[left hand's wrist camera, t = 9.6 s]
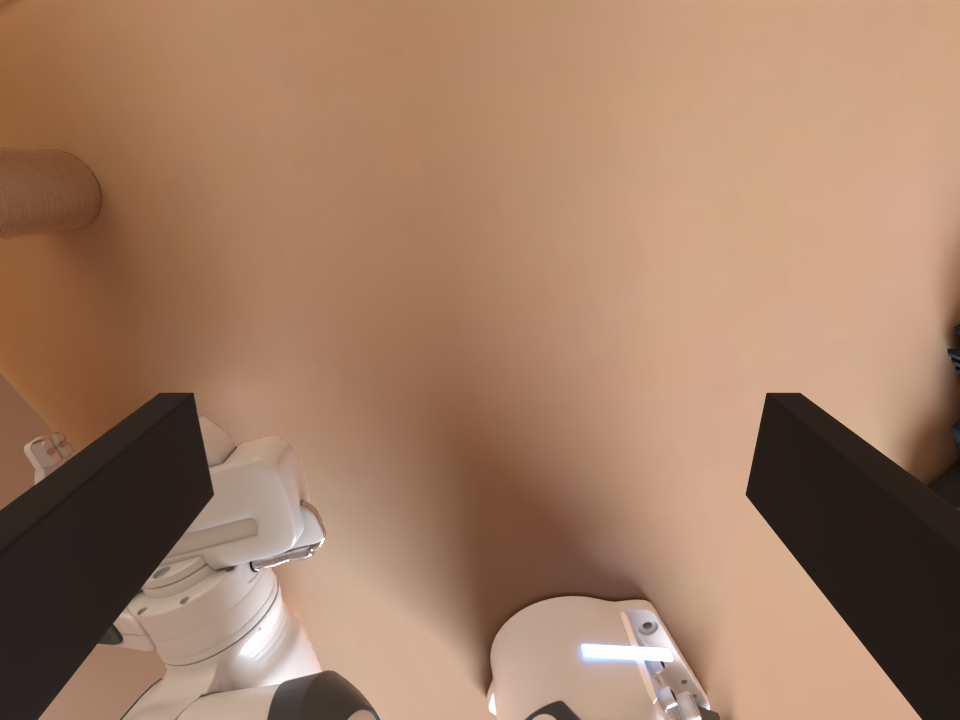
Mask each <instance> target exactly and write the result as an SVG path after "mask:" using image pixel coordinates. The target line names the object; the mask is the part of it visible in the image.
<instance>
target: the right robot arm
mask: <svg viewBox="0 0 960 720" xmlns="http://www.w3.org/2000/svg"><path fill="white" fill-rule="evenodd" d="M197 413H198V418H199V423H200V428H201V433H202V437H203V442H204V447H205V452H206V457H207V462H208V467H209V471H210V476H211V481H212V486H213V491H214V496H213V497H212V499H211V500H210V501H209V502H208V504H207V505H206V506H205V507H204V509H203V510H202V511H201V513H200V514H199V515H198V516H197V518H196V519H195V520H194V521H193V523H192V524H191V525H190V527H189V528H188V529H187V530H186V532H185V533H184V534H183V535H182V537H181V538H180V539H179V541H178V542H177V543H176V544H175V546H174V547H173V548H172V549H171V551H170V552H169V553H168V555H167V556H166V557H165V558H164V560H163V561H162V562H161V563H160V565H159V566H158V567H157V569H156V570H155V571H154V572H153V574H152V575H151V576H150V577H149V579H148V580H147V581H146V583H145V584H144V585H143V586H142V588H141V589H140V590H139V591H138V593H137V594H136V595H135V597H134V598H133V599H132V600H131V602H130V603H129V604H128V605H127V607H126V608H125V609H124V611H123V612H122V613H121V614H120V616H119V617H118V618H117V619H116V621H115V622H114V623H113V625H112V626H111V627H110V628H109V630H108V631H107V632H106V633H105V635H104V636H103V637H102V639H101V640H100V641H99V642H98V644H97V645H100V646H117V647H125V648H131V649H136V650H140V651H145V652H153V651H156V653H157V654H158V656H159V657H160V659H161V660H162V661H163V663H164V664H165V666H166V673H165V675H164V677H163V678H161V679H159V680H158V681H157V682H155V683H154V684H153V685H152V686H150V687H149V688H148V689H147V690H146V691H145V692H144V693H143V694H142V695H141V696H140V698H139V699H138V700H137V701H136V702H135V703H134V704H133V705H132V706H131V708H130V709H129V710H128V711H127V712H126V713H125V715H124V716H123V717H122V718H121V719H120V720H380V719H379V717H378V715H377V713H376V712H375V710H374V708H373V707H372V706H371V704H370V703H369V701H368V700H367V699H366V698H365V697H364V696H363V694H362V693H361V692H360V691H359V690H358V689H357V688H356V687H355V686H353V685H352V684H351V683H350V682H349V681H348V680H346V679H345V678H344V677H342V676H341V675H339V674H338V673H336V672H334V671H324V672H322V670H321V667H320V664H319V661H318V659H317V656H316V654H315V651H314V649H313V647H312V644H311V642H310V640H309V638H308V636H307V634H306V632H305V630H304V628H303V626H302V624H301V623H300V621H299V619H298V617H297V616H296V615H295V614H294V613H293V612H292V611H291V610H290V609H288V608H287V607H286V606H285V604H284V602H283V600H282V596H281V588H280V585H279V582H278V579H277V578H276V576H275V574H274V572H273V570H272V568H271V567H274V566H278V565H280V564H283V563H286V562H289V561H293V560H295V561H297V560H303V559H306V558H308V557H310V556H312V555H313V554H314V552H315V550H316V549H318V548H319V547H320V546H321V545H322V544H323V543H324V541H325V537H326V529H325V525H324V523H323V521H322V519H321V517H320V515H319V513H318V511H317V509H316V508H315V507H314V506H313V505H312V504H310V499H309V494H308V490H307V486H306V483H305V479H304V476H303V473H302V470H301V467H300V464H299V461H298V458H297V456H296V453H295V451H294V449H293V447H292V445H291V444H290V443H289V442H287V441H285V440H284V439H282V438H280V437H278V436H277V435H271V436H267V437H264V438H260V439H256V440H253V441H249V442H245V443H242V444H238V445H234V443H233V441H232V439H231V437H230V435H229V433H228V432H227V431H225V430H224V429H222V428H221V427H219V426H218V425H216V424H215V423H213V422H212V421H210V420H209V419H207V418H206V417H204V416H201V415H200V413H199V411H198V410H197ZM73 452H75V451H74V449H73V448H72V446H71V445H70V443H68V442H67V441H66V437H65V435H64V434H63V433H61V432H55V433H51V434H48V435H44V436H40V437H37V438H36V439H34V440H33V441H31V442H29V443H28V444H26V445H25V447H24V453H25V454H26V456H27V457H28V459H29V460H30V462H31V463H32V465H33V466H34V468H35V469H36V471H35V485H36V484H37V483H38V482H40V481H41V480H42V479H44V478H45V477H47V476H48V475H49V474H51V473H52V472H53V471H55V470H56V469H57V468H59V467H60V466H61V465H63V464H64V463H66V460H65V458H66V457H68V456H69V455H70V454H72V453H73ZM646 622H647V623H646ZM490 661H491V668H492V674H493V680H492V682H491V685H490V687H489V690H488V693H487V702H488V708H489V710H490V712H492V713H493V714H495V715H496V718H497V720H720V717H719V715H718V713H716V712H713V711H711V710H710V704H709V701H708V698H707V696H706V694H705V692H704V690H703V689H702V687H701V685H700V684H699V682H698V680H697V678H696V677H695V675H694V673H693V672H692V670H691V668H690V667H689V665H688V663H687V662H686V660H685V658H684V657H683V655H682V653H681V652H680V650H679V648H678V647H677V645H676V643H675V642H674V640H673V638H672V637H671V635H670V633H669V632H668V630H667V628H666V626H665V625H664V623H663V621H662V620H661V618H660V616H659V615H658V613H657V611H656V610H655V608H654V606H653V605H652V604H651V603H650V602H649V601H646V600H625V601H617V602H613V601H605V600H601V599H596V598H591V597H584V596H563V597H556V598H551V599H547V600H543V601H540V602H537V603H535V604H532V605H530V606H528V607H526V608H524V609H522V610H521V611H519V612H518V613H516V614H515V615H513V616H512V617H511V618H510V619H509V620H508V621H507V622H506V623H505V624H504V625H503V626H502V627H501V629H500V630H499V632H498V633H497V635H496V637H495V639H494V641H493V644H492V648H491V654H490Z"/></svg>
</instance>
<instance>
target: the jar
mask: <svg viewBox="0 0 960 720" xmlns="http://www.w3.org/2000/svg"><path fill="white" fill-rule="evenodd" d="M100 206H101V192H100V188H99V185H98V182H97V180H96V178H95V177H94V175H93V173H92V172H91V171H90V169H89V168H88V167H87V166H86V165H85V164H84V163H83V162H82V161H80V160H79V159H77V158H76V157H74V156H72V155H70V154H68V153H66V152H62V151H57V150H28V149H0V241H2V240H8V239H14V238H21V237H27V236H33V235H39V234H45V233H51V232H58V231H64V230H70V229H76V228H81V227H84V226H86V225H88V224H89V223H91V222H92V221H93V220H94V219H95V218H96V216H97V215H98V213H99V210H100Z"/></svg>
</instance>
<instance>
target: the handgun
mask: <svg viewBox="0 0 960 720" xmlns="http://www.w3.org/2000/svg"><path fill="white" fill-rule="evenodd" d="M954 328H955V330H956V332H957V334H958V336H959V338H960V325H958V326H956V327H954ZM947 350H948V354H949V356H951V357H953V358H952V362H953V365H955V366H956V371H957V373H958V374H960V347H959V348H958V349H947ZM951 431H952V434H953V438H954V441H955V444H956V447H957V450H958V453H959V465H958V466H956V467H955V468H954V469H952V470H951V471H950V472H949V473H947V474H946V475H944V476H943V477H942V478H940V479H939V480H938V481H937V482H936V483H934V484H933V485H932V486H931V487H929V488H930V489H931V490H932V491H934V492H935V493H937V494H938V495H939V496H941V497H942V498H943V499H945V500H946V501H947V502H949V503H950V504H951V505H953V506H954V507H956V508H957V509H960V419H959V420H958V421H956V422H955V423H954V424H953V425H952V426H951Z"/></svg>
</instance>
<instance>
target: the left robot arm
mask: <svg viewBox="0 0 960 720" xmlns="http://www.w3.org/2000/svg"><path fill="white" fill-rule="evenodd" d="M213 496H214V491H213V486H212V481H211V476H210V471H209V467H208V462H207V457H206V452H205V447H204V442H203V437H202V433H201V428H200V423H199V418H198V413H197V408H196V403H195V399H194V394H193V393H159V394H158V395H156V396H155V397H154V398H152V399H151V400H150V401H148V402H147V403H146V404H144V405H143V406H141V407H140V408H139V409H137V410H136V411H135V412H133V413H132V414H131V415H129V416H128V417H127V418H125V419H124V420H122V421H121V422H120V423H118V424H117V425H116V426H114V427H113V428H112V429H110V430H109V431H108V432H106V433H105V434H103V435H102V436H101V437H99V438H98V439H97V440H95V441H94V442H93V443H91V444H90V445H89V446H87V447H86V448H85V449H83V450H82V451H80V452H79V453H78V454H76V455H75V456H74V457H72V458H71V459H70V460H68V461H67V462H66V463H64V464H63V465H61V466H60V467H59V468H57V469H56V470H55V471H53V472H52V473H51V474H49V475H48V476H47V477H45V478H44V479H42V480H41V481H40V482H38V483H37V484H36V485H34V486H33V487H32V488H30V489H29V490H28V491H26V492H25V493H23V494H22V495H21V496H19V497H18V498H17V499H15V500H14V501H13V502H11V503H10V504H9V505H7V506H6V507H5V508H3V509H2V510H0V720H38V719H39V717H40V716H41V715H42V714H43V712H44V711H45V710H46V709H47V707H48V706H49V705H50V703H51V702H52V701H53V700H54V698H55V697H56V696H57V695H58V693H59V692H60V691H61V689H62V688H63V687H64V685H65V684H66V683H67V682H68V681H69V679H70V678H71V677H72V675H73V674H74V673H75V672H76V670H77V669H78V668H79V666H80V665H81V664H82V663H83V661H84V660H85V659H86V658H87V656H88V655H89V654H90V653H91V651H92V650H93V649H94V647H95V646H96V645H97V644H98V642H99V641H100V640H101V639H102V637H103V636H104V635H105V633H106V632H107V631H108V630H109V628H110V627H111V626H112V625H113V623H114V622H115V621H116V619H117V618H118V617H119V616H120V614H121V613H122V612H123V611H124V609H125V608H126V607H127V605H128V604H129V603H130V602H131V600H132V599H133V598H134V597H135V595H136V594H137V593H138V591H139V590H140V589H141V588H142V586H143V585H144V584H145V583H146V581H147V580H148V579H149V577H150V576H151V575H152V574H153V572H154V571H155V570H156V569H157V567H158V566H159V565H160V563H161V562H162V561H163V560H164V558H165V557H166V556H167V555H168V553H169V552H170V551H171V549H172V548H173V547H174V546H175V544H176V543H177V542H178V541H179V539H180V538H181V537H182V535H183V534H184V533H185V532H186V530H187V529H188V528H189V527H190V525H191V524H192V523H193V521H194V520H195V519H196V518H197V516H198V515H199V514H200V513H201V511H202V510H203V509H204V507H205V506H206V505H207V504H208V502H209V501H210V500H211V499H212V497H213ZM746 496H747V497H748V499H749V500H750V501H751V502H752V504H753V505H754V506H755V507H756V509H757V510H758V511H759V513H760V514H761V515H762V516H763V518H764V519H765V520H766V521H767V523H768V524H769V525H770V527H771V528H772V529H773V530H774V532H775V533H776V534H777V535H778V537H779V538H780V539H781V541H782V542H783V543H784V544H785V546H786V547H787V548H788V549H789V551H790V552H791V553H792V555H793V556H794V557H795V558H796V560H797V561H798V562H799V563H800V565H801V566H802V567H803V569H804V570H805V571H806V572H807V574H808V575H809V576H810V577H811V579H812V580H813V581H814V583H815V584H816V585H817V586H818V588H819V589H820V590H821V591H822V593H823V594H824V595H825V597H826V598H827V599H828V600H829V602H830V603H831V604H832V605H833V607H834V608H835V609H836V611H837V612H838V613H839V614H840V616H841V617H842V618H843V619H844V621H845V622H846V623H847V625H848V626H849V627H850V628H851V630H852V631H853V632H854V633H855V635H856V636H857V637H858V639H859V640H860V641H861V642H862V644H863V645H864V646H865V647H866V649H867V650H868V651H869V653H870V654H871V655H872V656H873V658H874V659H875V660H876V661H877V663H878V664H879V665H880V667H881V668H882V669H883V670H884V672H885V673H886V674H887V675H888V677H889V678H890V679H891V681H892V682H893V683H894V684H895V686H896V687H897V688H898V689H899V691H900V692H901V693H902V695H903V696H904V697H905V698H906V700H907V701H908V702H909V703H910V705H911V706H912V707H913V709H914V710H915V711H916V712H917V714H918V715H919V716H920V717H921V719H922V720H960V509H957V508H956V507H954V506H953V505H951V504H950V503H949V502H947V501H946V500H945V499H943V498H942V497H941V496H939V495H938V494H937V493H935V492H934V491H932V490H931V489H930V488H928V487H927V486H926V485H924V484H923V483H922V482H920V481H919V480H918V479H916V478H915V477H913V476H912V475H911V474H909V473H908V472H907V471H905V470H904V469H903V468H901V467H900V466H899V465H897V464H896V463H894V462H893V461H892V460H890V459H889V458H888V457H886V456H885V455H884V454H882V453H881V452H880V451H878V450H877V449H875V448H874V447H873V446H871V445H870V444H869V443H867V442H866V441H865V440H863V439H862V438H861V437H859V436H858V435H856V434H855V433H854V432H852V431H851V430H850V429H848V428H847V427H846V426H844V425H843V424H842V423H840V422H839V421H838V420H836V419H835V418H833V417H832V416H831V415H829V414H828V413H827V412H825V411H824V410H823V409H821V408H820V407H819V406H817V405H816V404H814V403H813V402H812V401H810V400H809V399H808V398H806V397H805V396H804V395H802V394H801V393H767V394H766V399H765V403H764V408H763V413H762V418H761V423H760V428H759V433H758V437H757V442H756V447H755V452H754V457H753V462H752V466H751V471H750V476H749V481H748V486H747V491H746Z"/></svg>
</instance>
